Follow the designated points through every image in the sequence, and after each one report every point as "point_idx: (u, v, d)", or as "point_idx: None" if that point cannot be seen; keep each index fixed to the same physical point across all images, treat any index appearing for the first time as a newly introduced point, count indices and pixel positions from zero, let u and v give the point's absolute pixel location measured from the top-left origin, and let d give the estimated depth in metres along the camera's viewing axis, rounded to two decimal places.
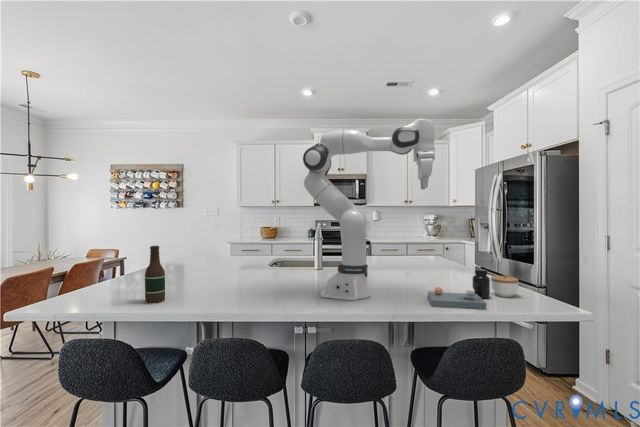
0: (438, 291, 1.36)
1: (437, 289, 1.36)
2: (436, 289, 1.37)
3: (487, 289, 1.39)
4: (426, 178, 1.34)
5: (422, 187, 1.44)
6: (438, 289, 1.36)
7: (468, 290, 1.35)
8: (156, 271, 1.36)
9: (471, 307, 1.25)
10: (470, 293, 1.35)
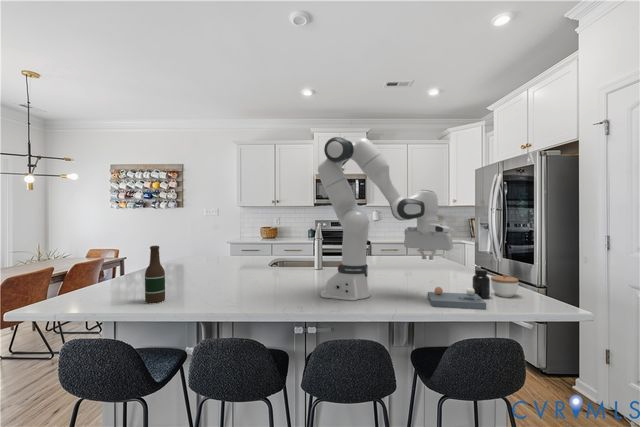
0: (438, 291, 1.36)
1: (437, 289, 1.36)
2: (436, 289, 1.37)
3: (487, 289, 1.39)
4: (435, 251, 1.38)
5: (425, 257, 1.40)
6: (438, 289, 1.36)
7: (468, 290, 1.35)
8: (156, 271, 1.36)
9: (471, 307, 1.25)
10: (470, 293, 1.35)
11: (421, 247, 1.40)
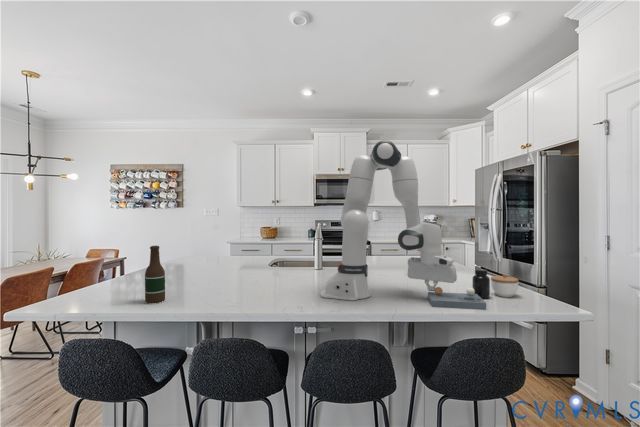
0: (438, 291, 1.36)
1: (437, 289, 1.36)
2: (436, 289, 1.37)
3: (487, 289, 1.39)
4: (437, 282, 1.38)
5: None
6: (438, 289, 1.36)
7: (468, 290, 1.35)
8: (157, 271, 1.36)
9: (471, 307, 1.25)
10: (470, 293, 1.35)
11: (425, 278, 1.39)
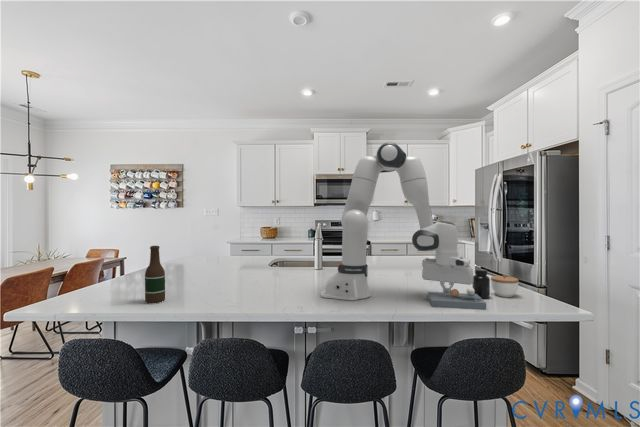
0: (453, 292, 1.32)
1: (452, 294, 1.33)
2: (453, 295, 1.33)
3: (487, 289, 1.39)
4: (453, 284, 1.34)
5: None
6: (451, 293, 1.33)
7: (468, 290, 1.35)
8: (157, 271, 1.36)
9: (471, 307, 1.25)
10: (470, 293, 1.35)
11: (440, 280, 1.35)
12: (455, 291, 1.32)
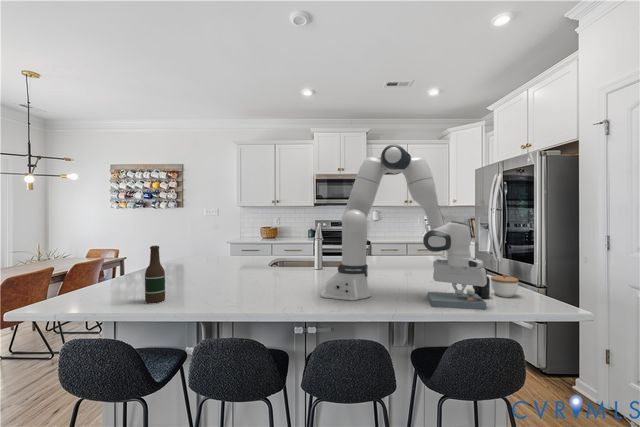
0: None
1: None
2: None
3: (487, 289, 1.39)
4: (465, 286, 1.31)
5: None
6: None
7: (468, 290, 1.35)
8: (157, 271, 1.36)
9: (471, 307, 1.25)
10: (470, 293, 1.35)
11: (452, 282, 1.32)
12: None
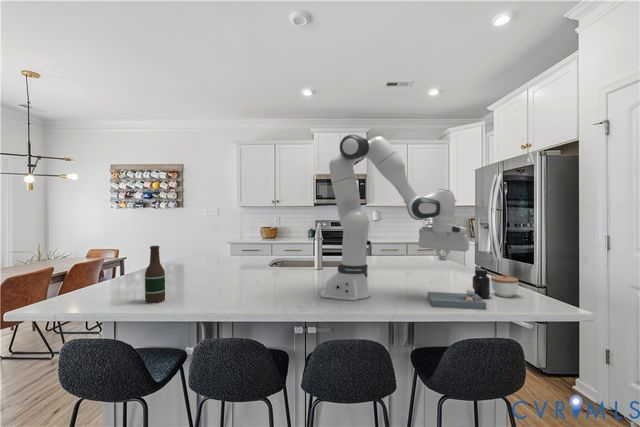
0: None
1: None
2: None
3: (487, 289, 1.39)
4: (448, 252, 1.35)
5: None
6: None
7: (468, 290, 1.35)
8: (157, 271, 1.36)
9: (471, 307, 1.25)
10: (470, 293, 1.35)
11: (436, 247, 1.37)
12: None
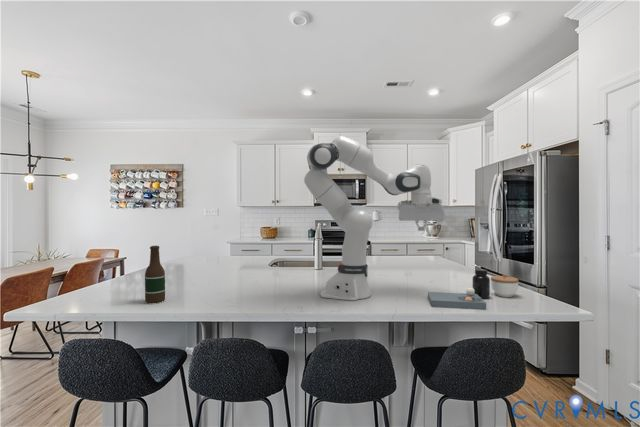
0: None
1: None
2: None
3: (487, 289, 1.39)
4: None
5: (421, 229, 1.48)
6: None
7: (468, 290, 1.35)
8: (157, 271, 1.36)
9: (471, 307, 1.25)
10: (470, 293, 1.35)
11: (416, 219, 1.47)
12: None
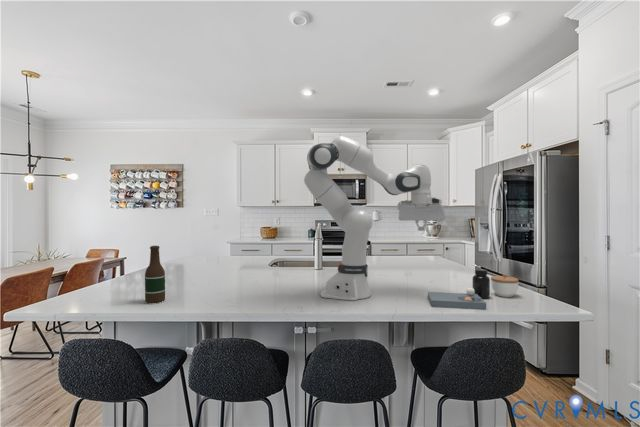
0: None
1: None
2: None
3: (487, 289, 1.39)
4: None
5: (421, 228, 1.48)
6: None
7: (468, 290, 1.35)
8: (157, 271, 1.36)
9: (471, 307, 1.25)
10: (470, 293, 1.35)
11: (416, 219, 1.47)
12: None
